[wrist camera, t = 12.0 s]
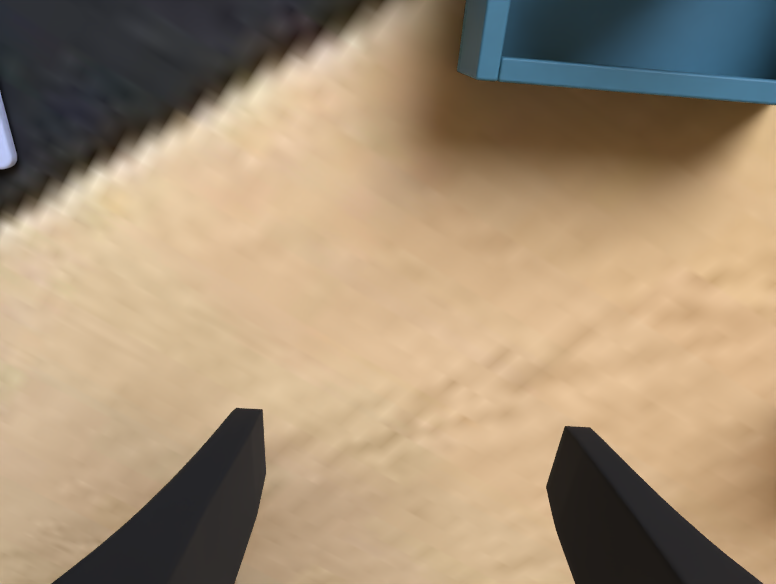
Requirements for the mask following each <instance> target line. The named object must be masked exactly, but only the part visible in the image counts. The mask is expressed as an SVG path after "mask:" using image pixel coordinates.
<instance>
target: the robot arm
mask: <svg viewBox="0 0 776 584" xmlns="http://www.w3.org/2000/svg"><path fill="white" fill-rule="evenodd" d="M16 162H17V153H16V149H15V145H14V142H13V138H12V134H11V130H10V127H9V123H8V119H7V115H6V111H5V108H4V104H3V100H2V96H1V92H0V169H7V168H10V167H12V166H14V165H15V164H16ZM265 476H266V462H265V445H264V427H263V410H262V409H245V408H236V409H235V410H233V411H232V412H231V413H230V415H229V416H228V417H227V418H226V419H225V421H224V422H223V423H222V424H221V425H220V427H219V428H218V429H217V430H216V431H215V432H214V434H213V435H212V436H211V437H210V438H209V439H208V441H207V442H206V443H205V444H204V445H203V446H202V447H201V448H200V450H199V451H198V452H197V453H196V454H195V455H194V456H193V457H192V458H191V459H190V460H189V462H188V463H187V464H186V465H185V466H184V467H183V468H182V469H181V470H180V471H179V472H178V473H177V474H176V475H175V476H174V477H173V479H172V480H171V481H170V482H169V483H168V484H167V485H166V486H164V487H163V488H162V489H161V490H160V491H159V492H158V493H157V494H156V495H155V496H154V497H153V498H152V499H151V500H150V501H149V502H148V503H147V504H146V505H145V506H144V507H143V508H142V509H141V510H140V511H139V512H138V513H137V514H135V515H134V516H133V517H132V518H131V519H130V520H129V521H128V522H127V523H125V524H124V525H123V526H122V527H121V528H120V529H119V530H118V531H116V532H115V533H114V534H113V535H112V536H110V537H109V538H108V539H107V540H106V541H105V542H103V543H102V544H101V545H100V546H99V547H97V548H96V549H95V550H94V551H93V552H91V553H90V554H89V555H87V556H86V557H85V558H84V559H82V560H81V561H80V562H79V563H77V564H76V565H75V566H73V567H72V568H71V569H70V570H68V571H67V572H66V573H65V574H63V575H62V576H61V577H59V578H58V579H57V580H55V581H54V582H53V583H51V584H234V583H235V580H236V577H237V574H238V571H239V568H240V565H241V562H242V559H243V556H244V553H245V550H246V547H247V544H248V541H249V538H250V535H251V532H252V529H253V526H254V523H255V520H256V517H257V513H258V508H259V504H260V499H261V495H262V490H263V485H264V480H265ZM546 489H547V493H548V498H549V502H550V507H551V512H552V516H553V520H554V524H555V528H556V531H557V534H558V537H559V540H560V543H561V545H562V548H563V551H564V554H565V557H566V559H567V562H568V565H569V568H570V571H571V573H572V576H573V579H574V581H575V584H763V583H762V582H760V581H759V580H758V579H757V578H755V577H754V576H753V575H752V574H750V573H749V572H748V571H746V570H745V569H744V568H743V567H741V566H740V565H739V564H738V563H736V562H735V561H734V560H732V559H731V558H730V557H729V556H727V555H726V554H725V553H724V552H723V551H721V550H720V549H719V548H718V547H716V546H715V545H714V544H713V543H712V542H711V541H709V540H708V539H707V538H706V537H705V536H704V535H703V534H701V533H700V532H699V531H698V530H697V529H696V528H695V527H693V526H692V525H691V524H690V523H689V522H688V521H687V520H685V519H684V518H683V517H682V516H681V515H680V514H679V513H678V512H677V511H676V510H674V509H673V508H672V507H671V506H670V505H669V504H668V503H667V502H666V501H665V500H664V499H663V498H662V497H660V496H659V495H658V494H657V493H656V492H655V491H654V490H653V489H652V488H651V487H650V486H649V485H648V484H647V483H646V482H645V481H644V480H643V479H642V478H641V477H640V476H639V475H638V474H637V473H636V472H635V471H634V470H633V469H632V468H631V467H630V466H629V465H628V464H627V463H626V462H625V461H624V460H623V459H622V458H621V457H620V456H619V455H618V454H617V453H616V452H615V451H614V450H613V449H612V448H611V447H610V446H609V445H608V444H607V443H606V442H605V441H604V440H603V439H602V438H601V437H600V436H598V435H597V434H596V433H595V432H594V431H593V430H592V429H591V428H589V427H571V426H565V428H564V431H563V434H562V437H561V440H560V444H559V447H558V450H557V453H556V457H555V460H554V463H553V466H552V470H551V473H550V476H549V479H548V482H547V486H546Z"/></svg>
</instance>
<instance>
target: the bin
mask: <svg viewBox="0 0 776 584" xmlns="http://www.w3.org/2000/svg"><path fill="white" fill-rule="evenodd" d="M457 71H458V72H460V73H462V74H465V75H467V76H470V77H472V78H474V79H477V80H484V81H499V82H508V83H520V84H532V85H543V86H555V87H567V88H579V89H591V90H603V91H614V92H626V93H638V94H650V95H662V96H674V97H685V98H697V99H709V100H721V101H733V102H745V103H756V104H768V105H776V0H466V4H465V12H464V20H463V28H462V35H461V43H460V51H459V59H458V66H457Z"/></svg>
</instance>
